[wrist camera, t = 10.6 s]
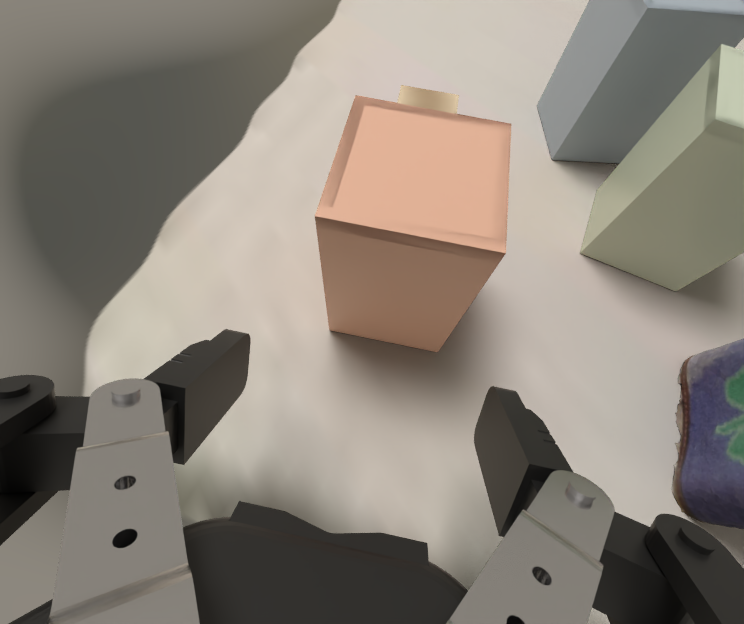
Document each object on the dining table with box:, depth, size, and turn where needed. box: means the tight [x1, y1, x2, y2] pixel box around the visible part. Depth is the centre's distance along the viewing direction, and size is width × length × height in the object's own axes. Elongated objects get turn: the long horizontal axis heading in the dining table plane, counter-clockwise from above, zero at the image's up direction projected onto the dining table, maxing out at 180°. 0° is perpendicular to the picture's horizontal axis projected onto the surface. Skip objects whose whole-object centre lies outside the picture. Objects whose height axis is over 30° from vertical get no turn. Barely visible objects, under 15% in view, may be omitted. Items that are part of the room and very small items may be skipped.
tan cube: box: [397, 85, 459, 114], centre depth 26 cm, size 4×4×4 cm
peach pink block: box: [315, 95, 511, 352], centre depth 18 cm, size 6×6×10 cm
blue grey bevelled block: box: [537, 0, 744, 164], centre depth 25 cm, size 6×6×10 cm
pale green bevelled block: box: [580, 44, 744, 291], centre depth 21 cm, size 6×6×10 cm
